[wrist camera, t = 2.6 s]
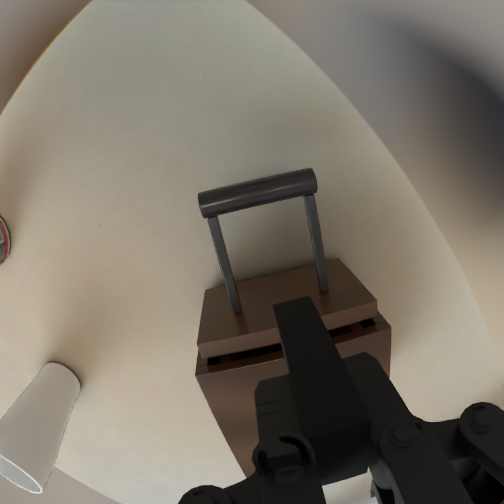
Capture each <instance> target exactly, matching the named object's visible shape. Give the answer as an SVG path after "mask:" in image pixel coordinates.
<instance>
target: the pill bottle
mask: <svg viewBox="0 0 504 504" xmlns="http://www.w3.org/2000/svg"><path fill="white" fill-rule="evenodd" d="M9 249H10V239H9V233H8V230H7V227H6V225H5V223H4V222H3V220H2V219H1V218H0V265H1V264H2V263H3V262H4V261H5V260H6V258H7V256H8V254H9Z"/></svg>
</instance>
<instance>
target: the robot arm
mask: <svg viewBox="0 0 504 504" xmlns="http://www.w3.org/2000/svg"><path fill="white" fill-rule="evenodd" d="M273 309H274V314H275V318H276V323H277V327H278V332H279V336H280V341H281V345H282V349H283V354H284V358H285V362H286V366H287V370H288V374H286V375H281V376H277V377H273V378H268V379H263V380H259V382H258V384H257V387H256V389H255V391H254V398H255V406H256V407H255V408H256V416H257V426H258V435H259V443H258V444H257V446H256V447H255V449H254V450H253V454H252V462H253V464H254V466H255V468H256V470H255V472H254V473H253V474H252V475H250V476H249V477H248V478H246V479H245V480H243V481H241V482H239V483H236V484H234V485H231V486H229V487H226V488H224V489H222V488H220V487H216V486H213V485H202V486H198V487H196V488H193V489H191V490H189V491H188V492H187V493H185V494H184V495H183V496H182V498H181V500H180V501H179V503H178V504H326V500H325V497H324V493H323V489H322V486H323V485H327V484H331V483H334V482H338V481H341V480H345V479H348V478H351V477H355V476H358V475H361V474H364V473H367V470H368V466H369V469H370V472H371V474H372V477H373V479H372V485H371V491H370V492H371V498H372V497H375V495H376V498H377V501H378V503H379V504H504V411H503V410H502V409H500V408H499V407H498V406H496V405H494V404H492V403H487V402H479V403H475V404H472V405H471V406H469V407H467V408H466V409H465V410H464V412H463V413H462V414H461V416H460V418H458V419H452V420H447V421H441V422H426V421H423V420H422V419H420V418H418V417H415V416H414V415H412V413H411V412H410V411H409V410H408V408H407V406H406V405H405V403H404V401H403V400H402V398H401V397H400V395H399V393H398V392H397V390H396V388H395V387H394V385H393V384H392V382H391V380H389V377H388V376H387V374H386V373H385V371H384V370H383V368H382V366H381V365H380V363H379V362H378V360H377V359H376V358H375V357H373V356H371V355H370V354H368V353H367V352H362V353H359V354H355V355H352V356H349V357H346V358H341V356H340V354H339V352H338V350H337V348H336V346H335V344H334V342H333V340H332V338H331V336H330V334H329V332H328V330H327V328H326V326H325V324H324V322H323V320H322V318H321V316H320V315H319V313H318V311H317V309H316V307H315V305H314V303H313V301H312V299H311V297H310V295H309V296H305V297H301V298H297V299H293V300H289V301H285V302H281V303H277V304H273Z"/></svg>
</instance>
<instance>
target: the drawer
mask: <svg viewBox="0 0 504 504" xmlns="http://www.w3.org/2000/svg"><path fill="white" fill-rule="evenodd" d="M317 189H318V187H317V180H316V176H315V173H314V171H313V169H312V168H306V169H301V170H296V171H291V172H286V173H282V174H277V175H272V176H268V177H263V178H259V179H254V180H250V181H246V182H241V183H237V184H233V185H229V186H225V187H220V188H216V189H212V190H208V191H204V192H201V193H198V202H199V207H200V211H201V214H202V216H203V218H205V219H206V218H208V223H209V227H210V231H211V235H212V238H213V242H214V246H215V249H216V253H217V256H218V260H219V264H220V267H221V271H222V274H223V278H224V281H225V286H220V287H216V288H211V289H207V290H205V295H204V301H203V307H202V313H201V320H200V326H199V333H198V339H197V346H198V349H199V351H200V354H201V356H202V359H204V358H210V357H215V356H220V359H219V364H221V363H226V362H231V361H236V360H241V359H246V358H251V357H256V356H260V355H265V354H269V353H274V352H278V351H282V350H283V349H282V345H281V341H280V336H279V332H278V327H277V323H276V318H275V314H274V309H273V304H277V303H281V302H285V301H289V300H293V299H297V298H301V297H305V296H309V295H310V297H311V299H312V301H313V303H314V305H315V307H316V309H317V311H318V313H319V315H320V316H321V318H322V320H323V322H324V324H325V326H326V328H327V330H328V332H329V334H330V336H331V338H333V337H336V336H340V335H343V334H347V333H350V332H353V331H357V330H360V329H363V327H362V326H361V324H360V323H359V321H363V320H366V319H369V318H372V317H376V316H377V300H376V299H375V298H374V296H373V295H372V294H371V293H370V292H369V291H368V290H367V289H366V287H365V286H364V285H363V284H362V283H361V282H360V281H359V280H358V279H357V277H356V276H355V275H354V274H353V273H352V272H351V271H350V270H349V269H348V268H347V267H346V265H345V264H344V263H343V262H342V261H341V260H340V259H339V258H338V259H334V260H330V261H326V262H325V257H324V250H323V244H322V238H321V231H320V225H319V219H318V213H317V208H316V202H315V196H314V193H317ZM300 196H303V198H304V203H305V209H306V214H307V220H308V225H309V231H310V237H311V242H312V248H313V254H314V261H315V264H313V265H309V266H305V267H301V268H297V269H293V270H289V271H285V272H280V273H276V274H272V275H268V276H264V277H259V278H255V279H251V280H246V281H242V282H238V283H235V280H234V276H233V273H232V269H231V265H230V261H229V258H228V254H227V250H226V246H225V243H224V239H223V235H222V231H221V227H220V224H219V220H218V215H222V214H226V213H230V212H234V211H239V210H243V209H247V208H251V207H256V206H260V205H264V204H269V203H273V202H278V201H282V200H286V199H291V198H296V197H300Z"/></svg>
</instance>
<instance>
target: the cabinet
mask: <svg viewBox="0 0 504 504" xmlns="http://www.w3.org/2000/svg"><path fill="white" fill-rule="evenodd" d="M359 323H360V324H361V326H362V327H363V329H360V330H357V331H353V332H350V333H347V334H343V335H340V336H336V337H333V338H332V340H333V342H334V344H335V346H336V348H337V350H338V352H339V354H340V356H341V358H346V357H349V356H352V355H355V354H359V353H362V352H367V353H368V354H370V355H371V356H373V357H375V358H376V359H377V360H378V362H379V363H380V365H381V366H382V368H383V370H384V371H385V373H386V374H387V376H388V377H389V376H390V358H391V326H390V325H389V324H388V322H387V321H386V320H385V319H384V317H383V316H382V315H381V314H380V313H379V311H378V310H377V316H376V317H372V318H369V319H366V320H363V321H359ZM219 359H220V356H215V357H210V358H204V359H202V356H201V354H200V351H199V349H198V356H197V364H196V372H195V377H196V379H197V381H198V383H199V385H200V388H201V390H202V392H203V394H204V396H205V398H206V401H207V403H208V405H209V407H210V409H211V411H212V413H213V415H214V417H215V419H216V421H217V423H218V425H219V427H220V429H221V431H222V433H223V435H224V437H225V439H226V441H227V443H228V445H229V447H230V449H231V451H232V452H233V454H234V456H235V458H236V460H237V462H238V464H239V465H240V467H241V469H242V471H243V473H244V474H245V476H246V478H248V477H249V476H250V475H252V474H253V473H254V472H255V470H256V468H255V466H254V464H253V462H252V454H253V450H254V449H255V447H256V446H257V444H258V443H259V435H258V426H257V416H256V408H255V407H256V406H255V398H254V391H255V389H256V387H257V384H258V382H259V380H263V379H268V378H273V377H277V376H281V375H286V374H288V370H287V366H286V362H285V358H284V354H283V350H282V351H278V352H274V353H269V354H265V355H260V356H256V357H251V358H246V359H241V360H236V361H231V362H226V363H221V364H219Z"/></svg>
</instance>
